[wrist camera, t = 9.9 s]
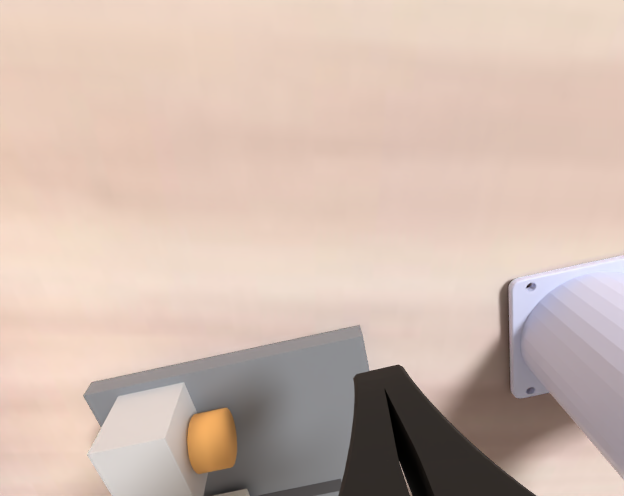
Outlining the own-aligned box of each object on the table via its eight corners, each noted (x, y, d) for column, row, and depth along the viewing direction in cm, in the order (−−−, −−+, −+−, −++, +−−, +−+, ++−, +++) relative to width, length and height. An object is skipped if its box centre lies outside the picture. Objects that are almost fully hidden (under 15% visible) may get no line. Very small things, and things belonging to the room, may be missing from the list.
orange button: (224, 395, 21) (216, 439, 19) (239, 434, 22) (233, 480, 20) (195, 402, 21) (182, 446, 19) (211, 439, 22) (201, 487, 20)
